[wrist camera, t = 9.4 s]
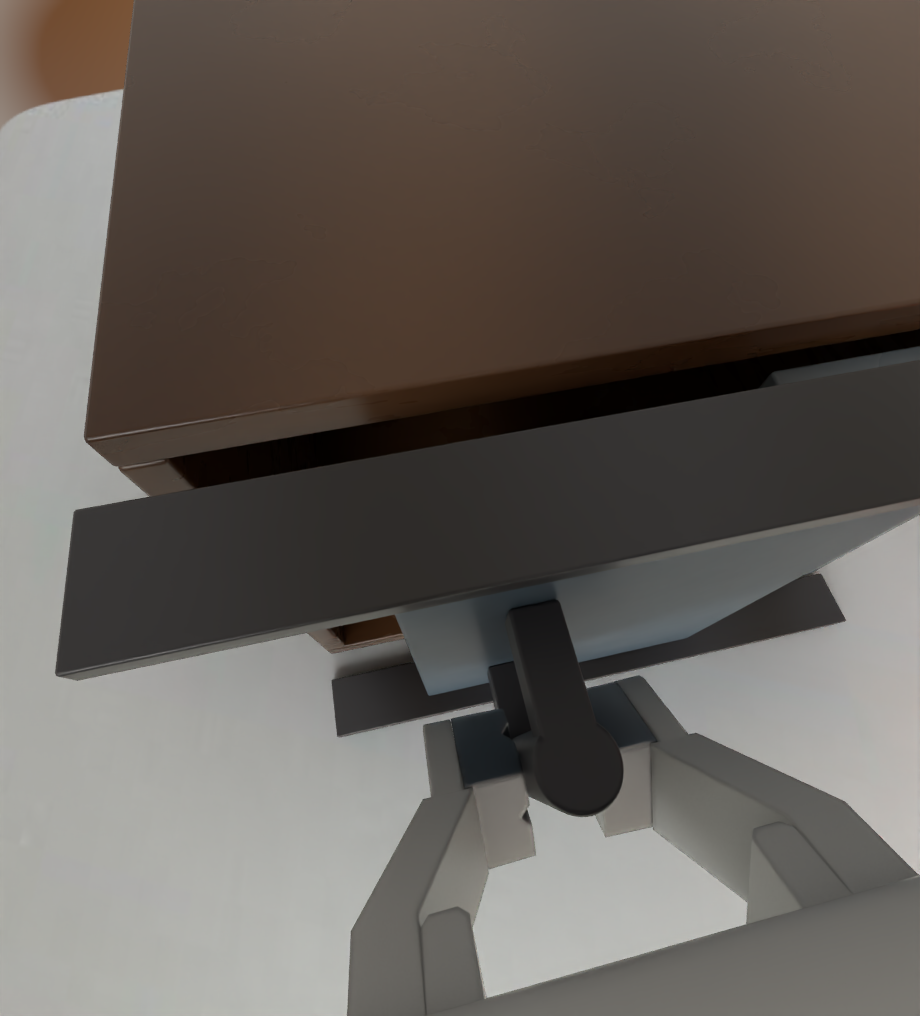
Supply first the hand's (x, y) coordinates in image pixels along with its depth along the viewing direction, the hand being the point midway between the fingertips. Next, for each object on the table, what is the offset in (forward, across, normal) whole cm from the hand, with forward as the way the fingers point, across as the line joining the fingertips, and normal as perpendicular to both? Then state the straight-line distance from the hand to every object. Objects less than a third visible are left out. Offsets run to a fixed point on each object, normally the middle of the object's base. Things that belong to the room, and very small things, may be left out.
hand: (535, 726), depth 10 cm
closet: (+9, +3, +1) cm, 10 cm away
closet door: (+4, +2, -3) cm, 6 cm away
